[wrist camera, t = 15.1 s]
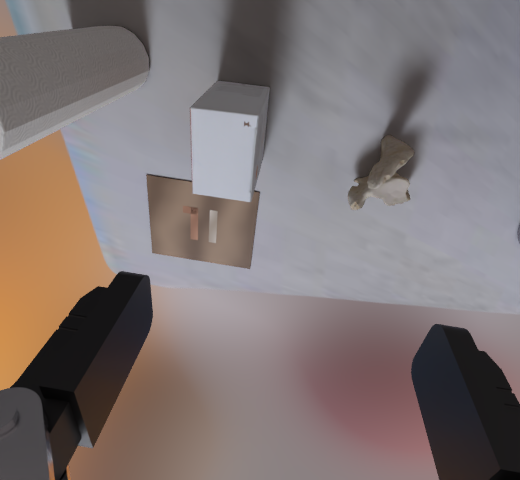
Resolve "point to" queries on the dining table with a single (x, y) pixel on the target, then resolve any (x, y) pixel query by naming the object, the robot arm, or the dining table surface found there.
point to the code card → (200, 223)
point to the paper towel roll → (63, 79)
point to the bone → (384, 176)
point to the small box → (228, 140)
